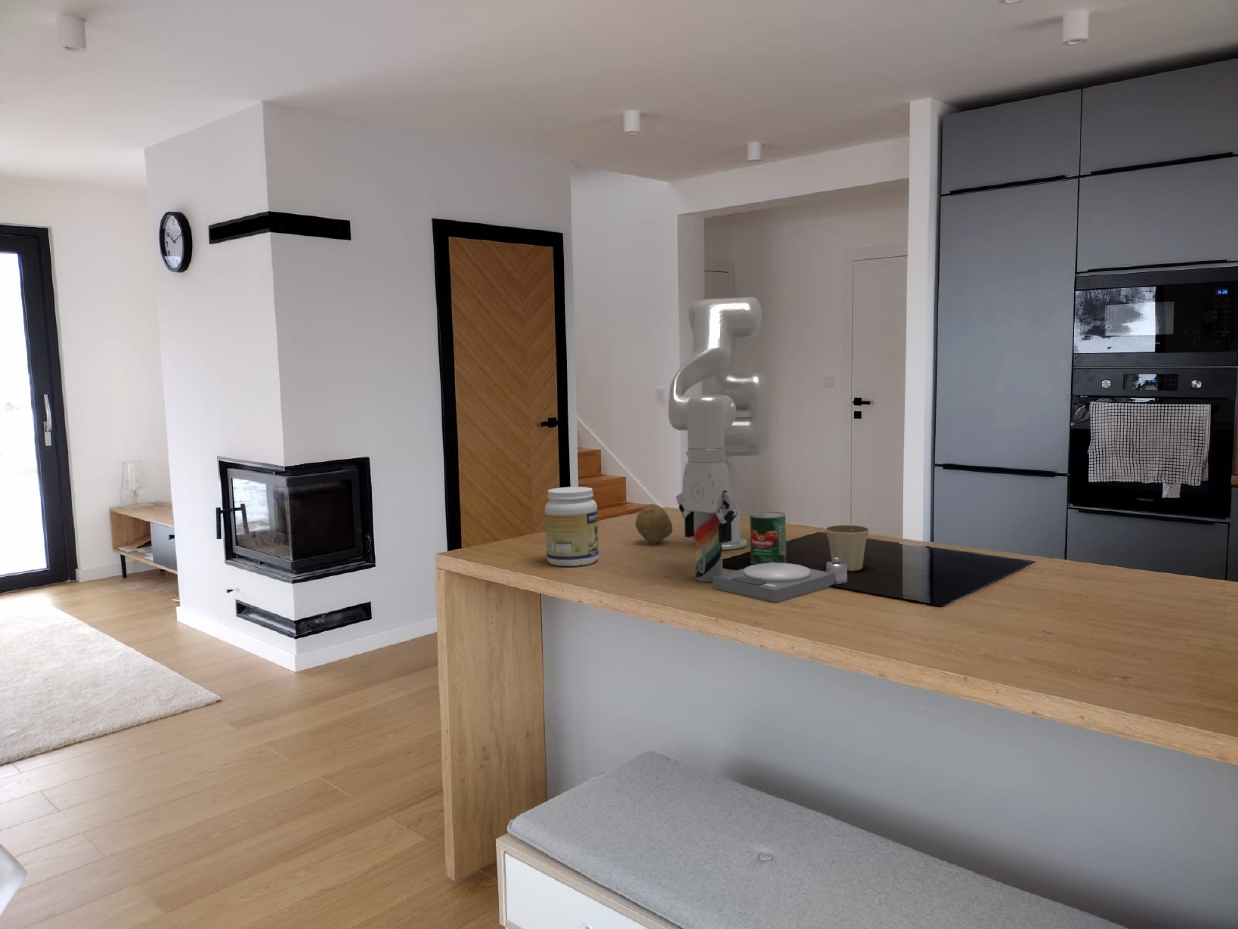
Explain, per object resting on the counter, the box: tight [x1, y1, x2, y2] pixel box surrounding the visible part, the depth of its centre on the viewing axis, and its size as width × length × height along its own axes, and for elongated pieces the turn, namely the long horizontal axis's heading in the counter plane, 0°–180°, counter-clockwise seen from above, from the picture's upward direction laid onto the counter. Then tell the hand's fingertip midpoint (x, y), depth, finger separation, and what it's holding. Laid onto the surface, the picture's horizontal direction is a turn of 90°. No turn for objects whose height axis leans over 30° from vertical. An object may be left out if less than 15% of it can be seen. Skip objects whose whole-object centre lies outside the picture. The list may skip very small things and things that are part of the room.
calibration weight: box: [825, 557, 848, 584], centre depth 177 cm, size 4×4×5 cm
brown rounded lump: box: [635, 503, 673, 545], centre depth 223 cm, size 9×9×10 cm
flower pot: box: [824, 524, 871, 572], centre depth 189 cm, size 9×9×9 cm
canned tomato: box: [749, 510, 787, 565], centre depth 196 cm, size 8×8×11 cm
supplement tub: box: [544, 486, 600, 567], centre depth 204 cm, size 12×12×17 cm
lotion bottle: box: [693, 512, 724, 583], centre depth 182 cm, size 6×6×20 cm
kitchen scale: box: [712, 562, 835, 604], centre depth 175 cm, size 16×18×3 cm
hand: (707, 539), depth 182 cm, fingers open, 9 cm apart
